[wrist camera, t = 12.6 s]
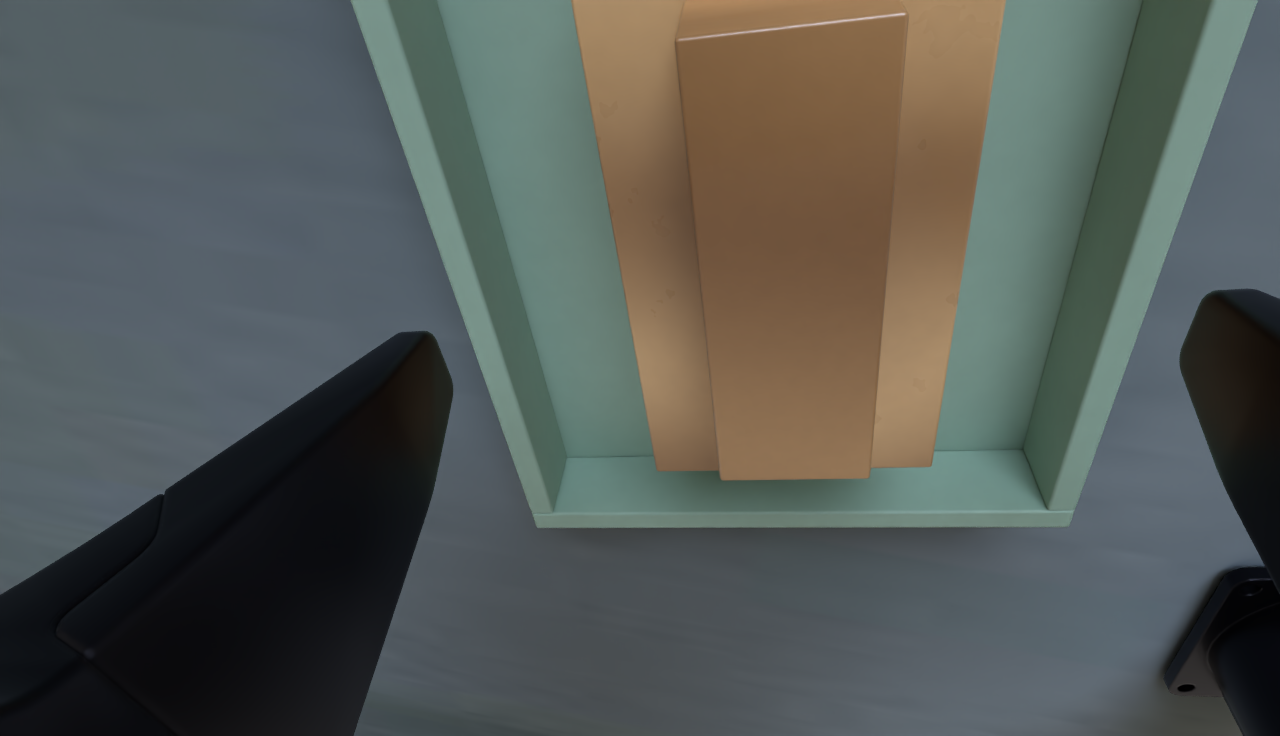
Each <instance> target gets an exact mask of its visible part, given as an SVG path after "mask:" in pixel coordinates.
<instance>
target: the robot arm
mask: <svg viewBox="0 0 1280 736" xmlns="http://www.w3.org/2000/svg"><path fill="white" fill-rule="evenodd" d="M1180 369H1181V373H1182V376H1183V379H1184V381H1185V384H1186V387H1187V389H1188V392H1189V395H1190V398H1191V400H1192V403H1193V406H1194V408H1195V411H1196V414H1197V417H1198V419H1199V422H1200V425H1201V427H1202V430H1203V433H1204V435H1205V438H1206V441H1207V444H1208V446H1209V449H1210V452H1211V454H1212V457H1213V460H1214V463H1215V465H1216V468H1217V470H1218V473H1219V475H1220V478H1221V480H1222V482H1223V485H1224V487H1225V489H1226V491H1227V493H1228V495H1229V497H1230V499H1231V501H1232V503H1233V505H1234V507H1235V509H1236V511H1237V513H1238V515H1239V517H1240V519H1241V521H1242V523H1243V525H1244V527H1245V528H1246V530H1247V532H1248V534H1249V536H1250V538H1251V540H1252V542H1253V544H1254V546H1255V548H1256V549H1257V551H1258V553H1259V555H1260V557H1261V559H1262V561H1263V563H1264V565H1265V567H1248V568H1240V569H1237V570H1234V571H1232V572H1230V573H1228V574H1227V575H1226V576H1225V577H1224V578H1223V579H1222V581H1221V583H1220V584H1219V586H1218V588H1217V589H1216V591H1215V593H1214V594H1213V596H1212V598H1211V599H1210V601H1209V603H1208V604H1207V606H1206V607H1205V609H1204V611H1203V612H1202V614H1201V616H1200V617H1199V619H1198V621H1197V622H1196V624H1195V626H1194V627H1193V629H1192V631H1191V632H1190V634H1189V635H1188V637H1187V639H1186V640H1185V642H1184V644H1183V645H1182V647H1181V649H1180V650H1179V652H1178V654H1177V655H1176V657H1175V658H1174V660H1173V662H1172V663H1171V665H1170V667H1169V668H1168V670H1167V672H1166V673H1165V675H1164V681H1165V683H1166V685H1167V688H1168V690H1169V691H1170V693H1172V694H1175V695H1181V696H1209V697H1224V699H1225V701H1226V703H1227V705H1228V707H1229V709H1230V711H1231V713H1232V715H1233V717H1234V719H1235V721H1236V723H1237V725H1238V726H1239V728H1240V730H1241V732H1242V734H1243V736H1280V299H1278V298H1276V297H1274V296H1271V295H1269V294H1266V293H1264V292H1261V291H1259V290H1255V289H1234V290H1216V291H1213V292H1210V293H1208V294H1207V295H1206V296H1205V297H1204V298H1203V299H1202V301H1201V303H1200V304H1199V307H1198V309H1197V312H1196V314H1195V317H1194V319H1193V321H1192V324H1191V326H1190V329H1189V331H1188V334H1187V336H1186V338H1185V341H1184V343H1183V346H1182V348H1181V352H1180ZM452 398H453V383H452V379H451V376H450V373H449V371H448V368H447V366H446V363H445V361H444V358H443V355H442V353H441V350H440V348H439V345H438V343H437V340H436V339H435V337H434V336H433V334H431V333H430V332H428V331H414V332H401V333H398V334H396V335H395V336H393V337H392V338H390V339H389V340H387V341H386V342H384V343H383V344H381V345H380V346H378V347H377V348H375V349H374V350H372V351H371V352H369V353H368V354H366V355H365V356H363V357H362V358H361V359H359V360H358V361H356V362H355V363H353V364H352V365H350V366H349V367H347V368H346V369H344V370H343V371H341V372H340V373H338V374H337V375H335V376H334V377H332V378H331V379H329V380H328V381H326V382H325V383H323V384H322V385H320V386H319V387H318V388H316V389H315V390H313V391H312V392H310V393H309V394H307V395H306V396H304V397H303V398H301V399H300V400H298V401H297V402H295V403H294V404H292V405H291V406H289V407H288V408H286V409H285V410H283V411H282V412H280V413H279V414H277V415H276V416H275V417H273V418H272V419H270V420H269V421H267V422H266V423H264V424H263V425H261V426H260V427H258V428H257V429H255V430H254V431H252V432H251V433H249V434H248V435H246V436H245V437H243V438H242V439H240V440H239V441H237V442H236V443H235V444H233V445H232V446H230V447H229V448H227V449H226V450H224V451H223V452H221V453H220V454H218V455H217V456H215V457H214V458H212V459H211V460H209V461H208V462H206V463H205V464H203V465H202V466H200V467H199V468H197V469H196V470H194V471H193V472H192V473H190V474H189V475H187V476H186V477H184V478H183V479H181V480H180V481H178V482H177V483H175V484H174V485H172V486H171V487H169V488H168V489H166V491H165V494H164V495H163V494H159V495H157V496H156V497H154V498H153V499H151V500H150V501H148V502H147V503H145V504H144V505H142V506H141V507H139V508H138V509H136V510H135V511H134V512H132V513H131V514H129V515H127V516H126V517H124V518H123V519H121V520H120V521H118V522H117V523H115V524H114V525H112V526H111V527H109V528H108V529H106V530H105V531H103V532H101V533H100V534H98V535H97V536H95V537H94V538H92V539H91V540H89V541H88V542H86V543H85V544H83V545H81V546H80V547H78V548H77V549H75V550H73V551H72V552H70V553H68V554H67V555H65V556H64V557H62V558H60V559H59V560H57V561H55V562H54V563H52V564H51V565H49V566H47V567H46V568H44V569H42V570H41V571H39V572H38V573H36V574H34V575H33V576H31V577H29V578H28V579H26V580H24V581H23V582H21V583H19V584H18V585H16V586H14V587H13V588H11V589H9V590H8V591H6V592H4V593H3V594H1V595H0V736H353V735H354V732H355V729H356V726H357V723H358V720H359V717H360V714H361V711H362V708H363V705H364V702H365V699H366V696H367V693H368V689H369V686H370V683H371V680H372V677H373V674H374V671H375V668H376V665H377V662H378V659H379V656H380V653H381V650H382V647H383V644H384V641H385V638H386V635H387V632H388V629H389V626H390V623H391V620H392V617H393V614H394V611H395V608H396V605H397V602H398V599H399V596H400V593H401V590H402V587H403V583H404V580H405V577H406V574H407V571H408V568H409V565H410V562H411V559H412V556H413V553H414V550H415V547H416V544H417V541H418V538H419V535H420V532H421V529H422V526H423V523H424V520H425V517H426V514H427V511H428V507H429V504H430V501H431V497H432V494H433V490H434V486H435V481H436V477H437V472H438V467H439V462H440V457H441V452H442V448H443V443H444V438H445V433H446V428H447V423H448V418H449V413H450V408H451V403H452Z"/></svg>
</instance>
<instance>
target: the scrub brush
mask: <svg viewBox="0 0 1280 736" xmlns="http://www.w3.org/2000/svg"><path fill="white" fill-rule="evenodd" d="M571 4H572V10H573V15H574V21H575V26H576V32H577V37H578V43H579V48H580V54H581V59H582V65H583V70H584V76H585V81H586V87H587V92H588V98H589V103H590V109H591V114H592V120H593V125H594V131H595V136H596V141H597V147H598V152H599V158H600V163H601V169H602V174H603V180H604V185H605V191H606V196H607V202H608V207H609V213H610V218H611V224H612V229H613V235H614V240H615V246H616V251H617V257H618V262H619V268H620V273H621V279H622V284H623V290H624V295H625V301H626V306H627V312H628V317H629V323H630V328H631V334H632V339H633V345H634V350H635V356H636V361H637V367H638V372H639V378H640V383H641V389H642V394H643V400H644V405H645V411H646V416H647V422H648V427H649V433H650V438H651V444H652V449H653V454H654V460H655V465H656V470H657V471H719V475H720V479H721V480H723V481H732V480H806V479H867V478H869V477H870V471H871V468H911V467H931V466H932V462H933V455H934V449H935V443H936V437H937V430H938V424H939V418H940V412H941V405H942V399H943V393H944V386H945V380H946V374H947V368H948V361H949V355H950V349H951V343H952V336H953V330H954V324H955V318H956V311H957V305H958V299H959V292H960V286H961V280H962V274H963V267H964V261H965V255H966V249H967V242H968V236H969V230H970V224H971V217H972V211H973V205H974V199H975V192H976V186H977V180H978V173H979V167H980V161H981V155H982V148H983V142H984V136H985V130H986V123H987V117H988V111H989V105H990V98H991V92H992V86H993V79H994V73H995V67H996V61H997V54H998V48H999V42H1000V36H1001V29H1002V23H1003V17H1004V11H1005V4H1006V0H571Z"/></svg>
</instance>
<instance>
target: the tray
mask: <svg viewBox="0 0 1280 736" xmlns="http://www.w3.org/2000/svg"><path fill="white" fill-rule="evenodd" d="M1257 1H1258V0H1006V4H1005V11H1004V17H1003V23H1002V29H1001V36H1000V42H999V48H998V54H997V61H996V67H995V73H994V79H993V86H992V92H991V98H990V105H989V111H988V117H987V123H986V130H985V136H984V142H983V148H982V155H981V161H980V167H979V173H978V180H977V186H976V192H975V199H974V205H973V211H972V217H971V224H970V230H969V236H968V242H967V249H966V255H965V261H964V267H963V274H962V280H961V286H960V292H959V299H958V305H957V311H956V318H955V324H954V330H953V336H952V343H951V349H950V355H949V361H948V368H947V374H946V380H945V386H944V393H943V399H942V405H941V412H940V418H939V424H938V430H937V437H936V443H935V449H934V455H933V462H932V466H931V467H911V468H871V471H870V477H869V478H867V479H806V480H732V481H723V480H721V479H720V475H719V471H657V470H656V465H655V460H654V454H653V449H652V444H651V438H650V433H649V427H648V422H647V416H646V411H645V405H644V400H643V394H642V389H641V383H640V378H639V372H638V367H637V361H636V356H635V350H634V345H633V339H632V334H631V328H630V323H629V317H628V312H627V306H626V301H625V295H624V290H623V284H622V279H621V273H620V268H619V262H618V257H617V251H616V246H615V240H614V235H613V229H612V224H611V218H610V213H609V207H608V202H607V196H606V191H605V185H604V180H603V174H602V169H601V163H600V158H599V152H598V147H597V141H596V136H595V131H594V125H593V120H592V114H591V109H590V103H589V98H588V92H587V87H586V81H585V76H584V70H583V65H582V59H581V54H580V48H579V43H578V37H577V32H576V26H575V21H574V15H573V10H572V4H571V0H351V3H352V6H353V9H354V12H355V14H356V17H357V20H358V23H359V26H360V28H361V31H362V34H363V37H364V40H365V43H366V45H367V48H368V51H369V54H370V57H371V60H372V62H373V65H374V68H375V71H376V74H377V77H378V79H379V82H380V85H381V88H382V91H383V94H384V96H385V99H386V102H387V105H388V108H389V111H390V113H391V116H392V119H393V122H394V125H395V128H396V130H397V133H398V136H399V139H400V142H401V145H402V147H403V150H404V153H405V156H406V159H407V162H408V164H409V167H410V170H411V173H412V176H413V178H414V181H415V184H416V187H417V190H418V193H419V195H420V198H421V201H422V204H423V207H424V210H425V212H426V215H427V218H428V221H429V224H430V227H431V229H432V232H433V235H434V238H435V241H436V244H437V246H438V249H439V252H440V255H441V258H442V261H443V263H444V266H445V269H446V272H447V275H448V278H449V280H450V283H451V286H452V289H453V292H454V295H455V297H456V300H457V303H458V306H459V309H460V311H461V314H462V317H463V320H464V323H465V326H466V328H467V331H468V334H469V337H470V340H471V343H472V345H473V348H474V351H475V354H476V357H477V360H478V362H479V365H480V368H481V371H482V374H483V377H484V379H485V382H486V385H487V388H488V391H489V394H490V396H491V399H492V402H493V405H494V408H495V411H496V413H497V416H498V419H499V422H500V425H501V428H502V430H503V433H504V436H505V439H506V442H507V444H508V447H509V450H510V453H511V456H512V459H513V461H514V464H515V467H516V470H517V473H518V476H519V478H520V481H521V484H522V487H523V490H524V493H525V495H526V498H527V501H528V504H529V507H530V510H531V512H532V515H533V518H534V521H535V524H536V527H537V528H876V527H1068V526H1069V525H1070V522H1071V519H1072V517H1073V514H1074V510H1075V508H1076V506H1077V503H1078V500H1079V497H1080V494H1081V492H1082V489H1083V486H1084V483H1085V480H1086V478H1087V475H1088V472H1089V469H1090V467H1091V464H1092V461H1093V458H1094V455H1095V453H1096V450H1097V447H1098V444H1099V441H1100V439H1101V436H1102V433H1103V430H1104V428H1105V425H1106V422H1107V419H1108V416H1109V414H1110V411H1111V408H1112V405H1113V402H1114V400H1115V397H1116V394H1117V391H1118V389H1119V386H1120V383H1121V380H1122V377H1123V375H1124V372H1125V369H1126V366H1127V363H1128V361H1129V358H1130V355H1131V352H1132V350H1133V347H1134V344H1135V341H1136V338H1137V336H1138V333H1139V330H1140V327H1141V324H1142V322H1143V319H1144V316H1145V313H1146V311H1147V308H1148V305H1149V302H1150V299H1151V297H1152V294H1153V291H1154V288H1155V285H1156V283H1157V280H1158V277H1159V274H1160V272H1161V269H1162V266H1163V263H1164V260H1165V258H1166V255H1167V252H1168V249H1169V247H1170V244H1171V241H1172V238H1173V235H1174V233H1175V230H1176V227H1177V224H1178V221H1179V219H1180V216H1181V213H1182V210H1183V208H1184V205H1185V202H1186V199H1187V196H1188V194H1189V191H1190V188H1191V185H1192V182H1193V180H1194V177H1195V174H1196V171H1197V169H1198V166H1199V163H1200V160H1201V157H1202V155H1203V152H1204V149H1205V146H1206V143H1207V141H1208V138H1209V135H1210V132H1211V130H1212V127H1213V124H1214V121H1215V118H1216V116H1217V113H1218V110H1219V107H1220V104H1221V102H1222V99H1223V96H1224V93H1225V91H1226V88H1227V85H1228V82H1229V79H1230V77H1231V74H1232V71H1233V68H1234V65H1235V63H1236V60H1237V57H1238V54H1239V52H1240V49H1241V46H1242V43H1243V40H1244V38H1245V35H1246V32H1247V29H1248V26H1249V24H1250V21H1251V18H1252V15H1253V13H1254V10H1255V7H1256V4H1257Z"/></svg>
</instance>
